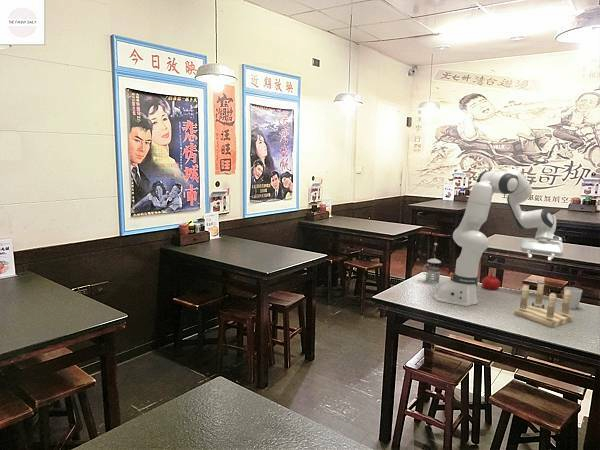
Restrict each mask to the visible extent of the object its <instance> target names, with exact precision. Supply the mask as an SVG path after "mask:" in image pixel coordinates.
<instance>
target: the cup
mask: <svg viewBox="0 0 600 450" xmlns="http://www.w3.org/2000/svg"><path fill="white" fill-rule="evenodd" d="M567 289H569V290H571V292H572V293H571V300H570V307H569V310H577V308H578V306H579V305H580V301H581V300H582V295H583V289H581V288H577V287H572V286H565V287H563V294H564V293H565V290H567Z"/></svg>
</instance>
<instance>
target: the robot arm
mask: <svg viewBox="0 0 600 450" xmlns="http://www.w3.org/2000/svg"><path fill="white" fill-rule="evenodd" d="M532 193H533V188H532V184H531V183H530V182H529V180H528V178H526V176H525V175H524V174H523V173H522V172H521V171H520V170H518V169H515V168H509V169H508V170H506V171H505V172H503V171H499V170H498V171H497V170H485V171H482V172H481V173H479V174H478V177H477V179H476V182H475V184H473V186H472V188H471V191H470V192H469V196H468V199H467V202H466V203H467V204H466V206H465V207H466V208H465V211H464V214H463V217H462V219H461V222H459V225H458V227H457V228H455V230H453V233H452V239H453V241H454V242H455V243H456V244H457V246H459V247H460V248H461V252H460V254H459V257H458V258H457V259H456V262H455V272H449V276H450V279H449V280H448V281H446V282H444V283H442V284H441V285H439V288H438V291H437V292H434V293H433V299H434V300H436V301H437V302H440V303H441V302H442V303H447V304H453V305H457V306H458V305H459V306H464V307H468V306H471V305H478V302H479V301H478V294H477V291H478V289H477V288H478V286H479V285H478V283H479V276H478V275H479V273H478V272H479V265H480V261H481V258H482V256H483V253H484V252H485V251H486V250H487V249H488V248H489V245H490V244H489V243H490V242H489V239H488V237H487V236H486V235H485V233H483V232H481V231H480V230H481V227H482V225H483V224H484V223H485V222H486V221H487V220H488V216H489V213H490V212H489V211H490V208H491V205H492V198H493V196H494V194H500V195H501V194H502V195H507V197H506V198H507V199H506V201H507V204H508V207H509V210H510V212H511V215H512V217H513V219H514V224H515V226H516V227H517V228H518V229H520V230H523V231H524V230H528V229H534V228H536V229H537V231H536V232H535V236H534V237H529V236H526V237H523V238H522V239H521V240H522V241H521V245H520V251H522V252H524V253H527V258H528V259H529V260H530V259H531V260H532V257H533V255H532V254H537V255H545V256H548V258H547V262H549V263H551V262H552V260H553V259H554V258H555V257H558V258H560V257H563V255H564V244H563V238H562V237H560V236H557V235H555V232H556V229H557V217H556V215H554V214H552V213H551V212H550V211H549V210H548V209H545V208H543V209H535V210H528V211H524V210H522V207H521V206H520V205H521V203H523V202H526V201H527V200H528V199H530V197H531V196H532Z"/></svg>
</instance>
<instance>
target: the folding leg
mask: <svg viewBox="0 0 600 450" xmlns="http://www.w3.org/2000/svg"><path fill="white" fill-rule="evenodd" d="M545 283H546V282H545V281H544V280H538V281H537V288H536V294H535V301H534V304H536V305H543V303H542V302H543V295H544V289H545Z"/></svg>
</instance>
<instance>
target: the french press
mask: <svg viewBox="0 0 600 450" xmlns="http://www.w3.org/2000/svg"><path fill="white" fill-rule="evenodd" d="M433 244H434V245H435V246H434V245H433V246H434V250H436V249H437V248H436V247H437V246H438V243H437V242H434V243H433ZM426 262H427V263H426V264H424V265H423V268H422V269H423V271H422V273H423V274H424V275H425V280H424V281H423V283H424V284H425V285H428V286H433V287H434V286H436V287H437V286H441V285H442V284H441V283H440V275H441V270H440V267H438V266H434V265H435V264H442V261H441V260H439V259H437V258H436V255H434V258H430V259H427V261H426ZM430 264H434V265H433V266H431V265H430ZM426 267H427V269H426Z"/></svg>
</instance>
